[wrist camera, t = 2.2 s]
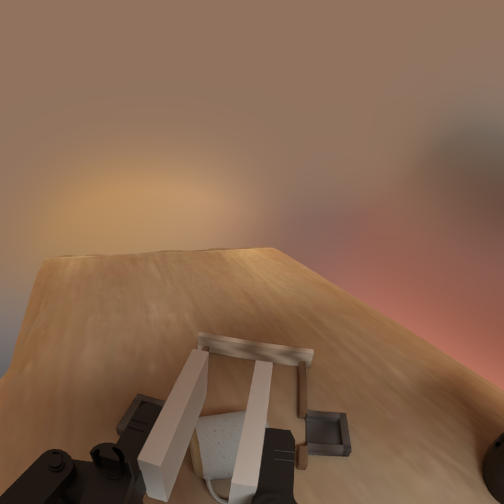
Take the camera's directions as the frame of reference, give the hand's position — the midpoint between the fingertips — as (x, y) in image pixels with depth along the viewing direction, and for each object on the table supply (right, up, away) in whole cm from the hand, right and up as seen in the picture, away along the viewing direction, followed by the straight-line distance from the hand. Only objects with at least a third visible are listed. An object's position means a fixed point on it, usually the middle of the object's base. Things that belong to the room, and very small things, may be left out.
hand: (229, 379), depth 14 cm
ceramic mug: (-1, -19, +15) cm, 24 cm away
